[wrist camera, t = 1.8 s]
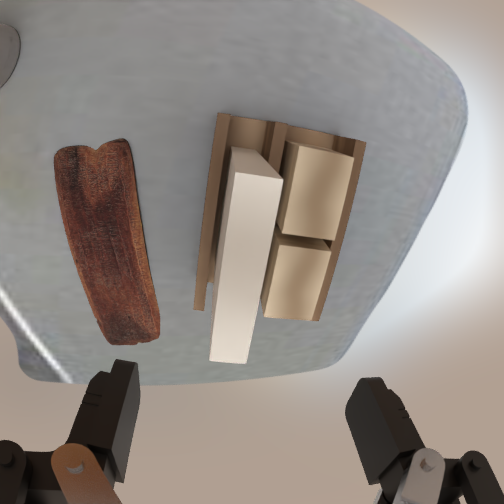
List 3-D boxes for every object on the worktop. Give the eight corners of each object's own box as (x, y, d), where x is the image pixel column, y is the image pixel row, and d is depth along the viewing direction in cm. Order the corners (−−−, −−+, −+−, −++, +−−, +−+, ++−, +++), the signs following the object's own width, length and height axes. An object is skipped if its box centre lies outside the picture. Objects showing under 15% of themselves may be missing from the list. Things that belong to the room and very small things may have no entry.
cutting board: (215, 258, 34) (209, 360, 20) (231, 146, 30) (235, 172, 15) (237, 261, 35) (245, 363, 20) (255, 149, 30) (283, 179, 16)
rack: (198, 275, 37) (193, 309, 30) (219, 114, 30) (217, 112, 23) (304, 287, 38) (318, 321, 32) (339, 136, 31) (366, 142, 25)
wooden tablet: (167, 349, 39) (96, 354, 38) (167, 338, 41) (99, 344, 40) (131, 135, 29) (45, 152, 27) (134, 134, 31) (52, 150, 29)
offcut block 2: (256, 275, 36) (263, 316, 28) (267, 215, 33) (279, 244, 26) (295, 279, 36) (311, 320, 29) (309, 221, 34) (331, 251, 26)
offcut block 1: (269, 206, 33) (282, 233, 25) (281, 139, 30) (299, 145, 23) (311, 212, 33) (334, 240, 26) (324, 147, 31) (354, 157, 23)
